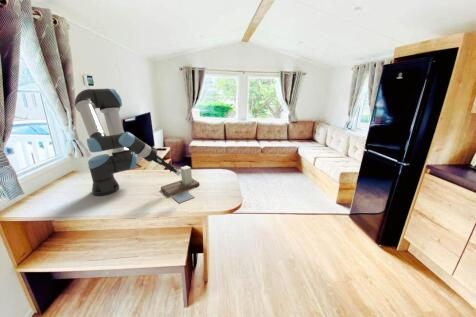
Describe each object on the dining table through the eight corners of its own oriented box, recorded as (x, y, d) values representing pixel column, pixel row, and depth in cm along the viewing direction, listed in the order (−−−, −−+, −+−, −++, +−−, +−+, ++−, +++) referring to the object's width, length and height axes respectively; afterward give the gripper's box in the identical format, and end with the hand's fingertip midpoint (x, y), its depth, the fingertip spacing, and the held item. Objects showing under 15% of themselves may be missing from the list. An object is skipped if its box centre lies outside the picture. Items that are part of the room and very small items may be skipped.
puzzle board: (161, 189, 136) (160, 186, 135) (190, 179, 149) (190, 177, 149) (168, 196, 127) (168, 193, 127) (199, 185, 141) (199, 182, 140)
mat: (171, 197, 126) (171, 196, 126) (186, 191, 133) (186, 191, 133) (179, 203, 119) (179, 202, 119) (194, 197, 126) (194, 196, 125)
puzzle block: (182, 185, 142) (180, 167, 137) (188, 182, 145) (187, 165, 140) (185, 187, 138) (184, 169, 134) (192, 185, 141) (190, 167, 137)
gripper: (136, 153, 124) (163, 170, 138) (150, 163, 107) (180, 182, 121) (144, 143, 126) (170, 161, 140) (159, 152, 108) (187, 171, 122)
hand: (175, 170), depth 130 cm, fingers open, 13 cm apart
